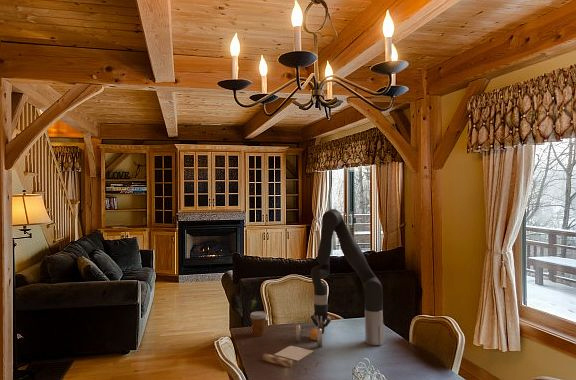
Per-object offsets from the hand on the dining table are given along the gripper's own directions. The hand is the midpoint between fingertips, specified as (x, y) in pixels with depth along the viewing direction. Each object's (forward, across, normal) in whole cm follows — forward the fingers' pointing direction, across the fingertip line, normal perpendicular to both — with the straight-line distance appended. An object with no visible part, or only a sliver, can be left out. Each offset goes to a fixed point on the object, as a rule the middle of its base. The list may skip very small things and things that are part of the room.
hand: (321, 334), depth 224 cm
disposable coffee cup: (+2, -32, -15) cm, 35 cm away
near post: (+2, +7, -13) cm, 15 cm away
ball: (-2, 0, -6) cm, 6 cm away
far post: (+2, -6, -13) cm, 15 cm away
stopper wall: (+2, 0, -41) cm, 41 cm away
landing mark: (+2, 0, -27) cm, 27 cm away
